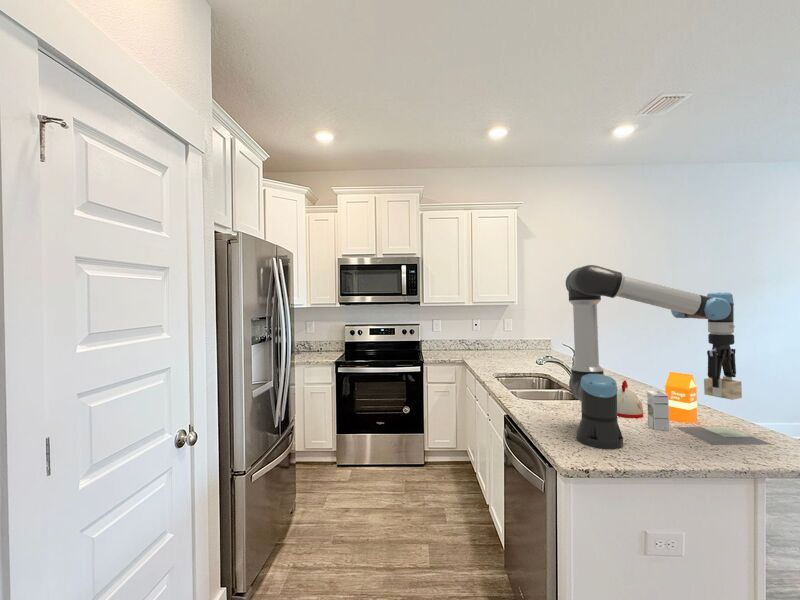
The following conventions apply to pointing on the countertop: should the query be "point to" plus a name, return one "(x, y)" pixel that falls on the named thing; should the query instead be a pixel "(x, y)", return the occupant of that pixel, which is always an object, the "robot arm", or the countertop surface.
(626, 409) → the kitchen timer
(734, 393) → the maple block
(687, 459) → the countertop surface
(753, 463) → the countertop surface
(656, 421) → the syrup box
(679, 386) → the orange juice
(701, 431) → the rubber mat
